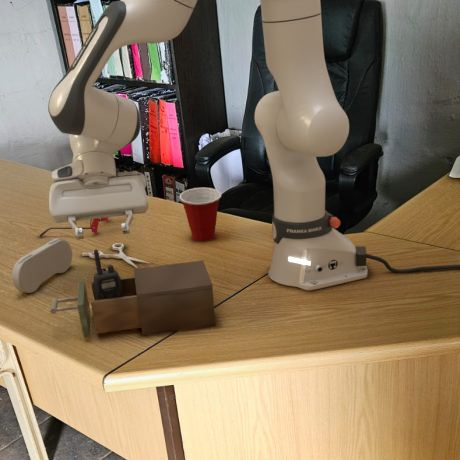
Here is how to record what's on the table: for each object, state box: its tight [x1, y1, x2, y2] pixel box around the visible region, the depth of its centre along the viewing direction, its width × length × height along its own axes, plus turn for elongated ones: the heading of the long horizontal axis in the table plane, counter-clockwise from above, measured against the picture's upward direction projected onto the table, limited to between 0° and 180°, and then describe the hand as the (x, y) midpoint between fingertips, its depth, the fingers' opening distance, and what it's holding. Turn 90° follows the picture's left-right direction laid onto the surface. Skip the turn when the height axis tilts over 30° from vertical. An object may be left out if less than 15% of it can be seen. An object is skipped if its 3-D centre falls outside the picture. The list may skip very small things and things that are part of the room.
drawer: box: [50, 275, 142, 339], centre depth 128 cm, size 19×11×7 cm, turn 100°
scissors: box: [81, 242, 150, 269], centre depth 160 cm, size 11×1×20 cm
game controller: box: [11, 237, 73, 294], centre depth 150 cm, size 20×2×8 cm, turn 156°
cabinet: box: [133, 259, 216, 337], centre depth 130 cm, size 15×13×9 cm
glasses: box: [39, 217, 109, 238], centre depth 181 cm, size 14×16×5 cm
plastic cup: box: [179, 187, 222, 242], centre depth 167 cm, size 11×11×12 cm
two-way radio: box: [92, 248, 123, 300], centre depth 126 cm, size 6×4×15 cm
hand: (103, 235), depth 131 cm, fingers open, 8 cm apart
